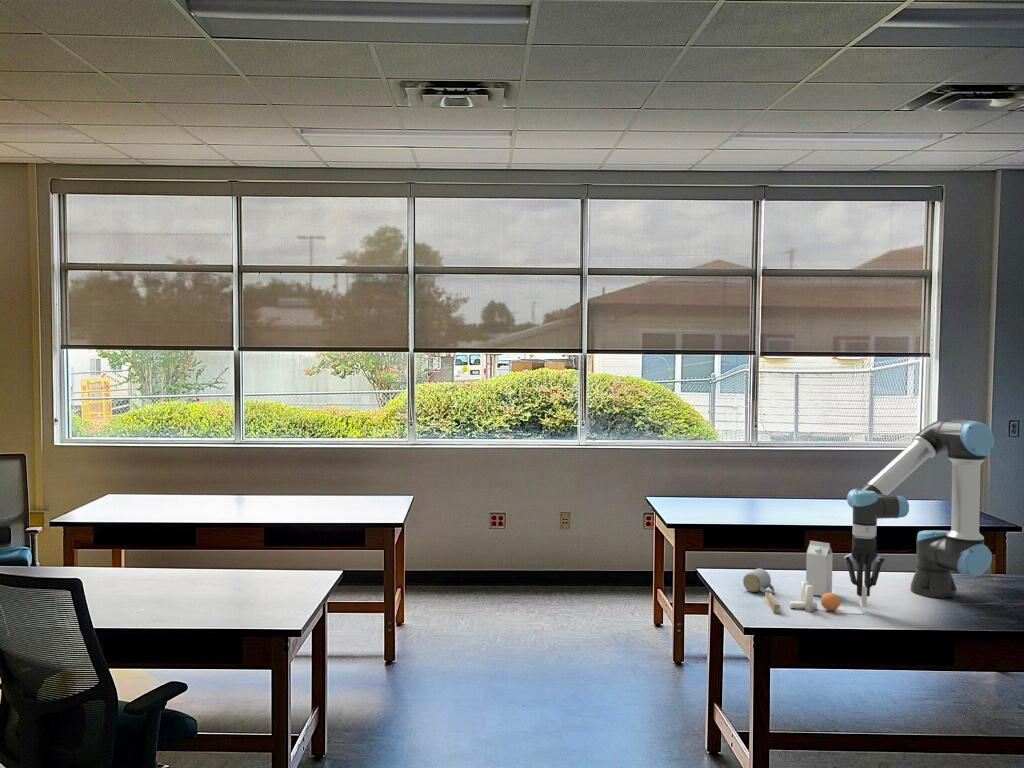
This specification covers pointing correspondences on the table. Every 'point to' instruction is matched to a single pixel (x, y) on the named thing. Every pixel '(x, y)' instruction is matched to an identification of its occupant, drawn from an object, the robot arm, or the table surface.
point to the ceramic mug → (758, 581)
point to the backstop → (772, 603)
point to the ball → (830, 601)
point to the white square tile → (847, 610)
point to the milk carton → (819, 567)
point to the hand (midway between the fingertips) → (863, 605)
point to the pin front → (801, 605)
